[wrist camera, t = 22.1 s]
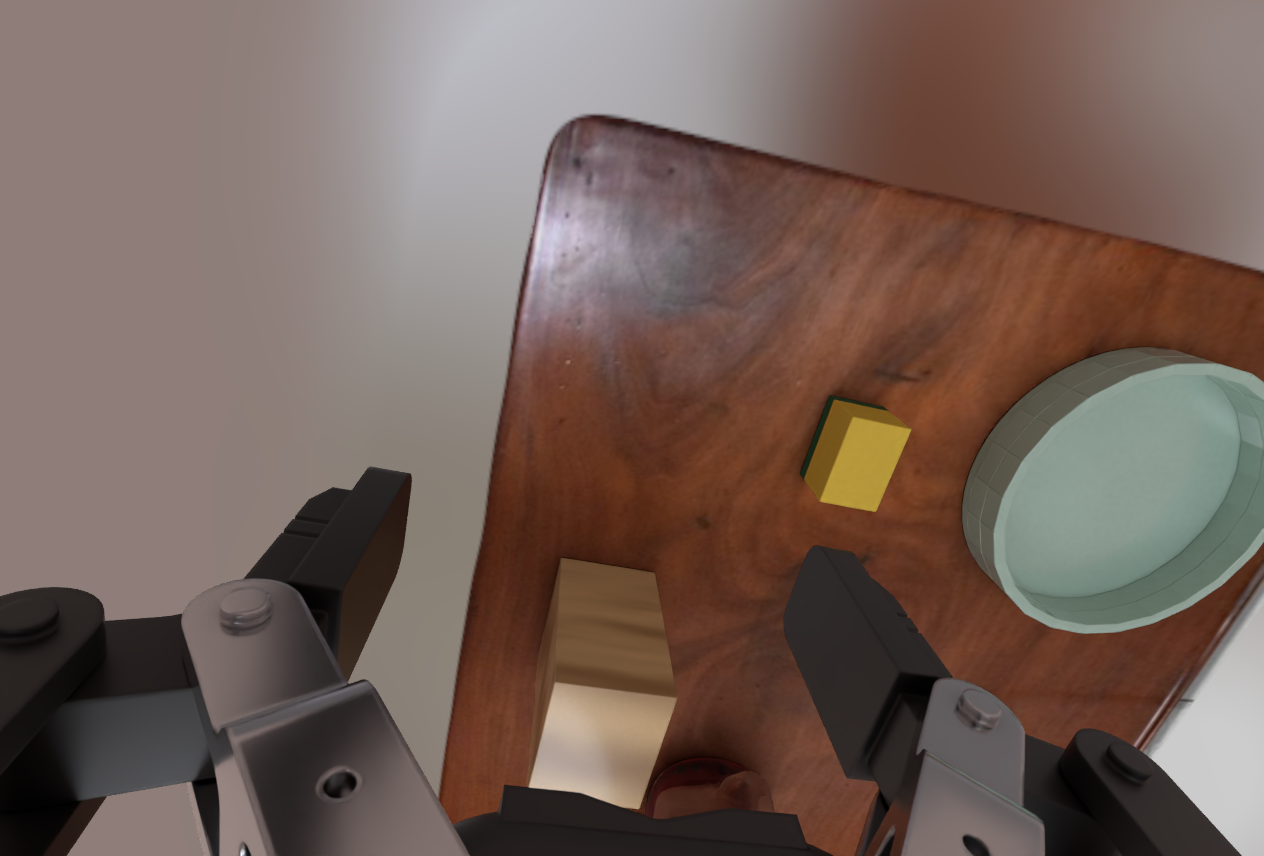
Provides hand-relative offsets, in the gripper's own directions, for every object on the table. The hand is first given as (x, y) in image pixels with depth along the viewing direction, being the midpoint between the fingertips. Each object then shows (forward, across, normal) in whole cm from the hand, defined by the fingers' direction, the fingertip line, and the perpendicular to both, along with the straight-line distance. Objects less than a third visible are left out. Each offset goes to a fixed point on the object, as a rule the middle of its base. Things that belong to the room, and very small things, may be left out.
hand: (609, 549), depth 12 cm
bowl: (+28, -39, +5) cm, 49 cm away
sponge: (+28, -19, +6) cm, 34 cm away
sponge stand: (+28, -5, +23) cm, 37 cm away
